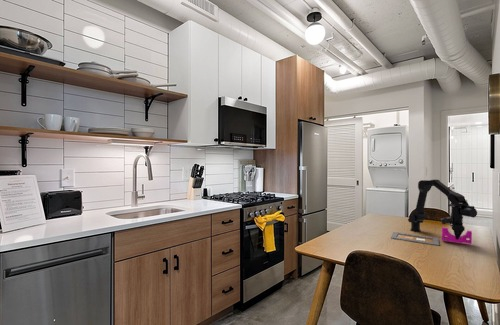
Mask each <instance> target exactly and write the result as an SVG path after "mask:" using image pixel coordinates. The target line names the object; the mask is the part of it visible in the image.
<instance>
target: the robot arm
mask: <svg viewBox="0 0 500 325" xmlns="http://www.w3.org/2000/svg"><path fill="white" fill-rule="evenodd" d="M432 187H434V188H436V189H437V190H438V191H440V192H442V194H444V196H446V197H447V200H448V201H449V202H450V204H448V205H447V206H448V207H451V213H450V216H447V217H443V218H440V221H441V224H442V225H447V224H449V225H450V227H451V230H452V231H453V233H454V234H453V235H454V236H455V237H456V239H457V240H458V239H459V237H460V236H462V235H463V232H464V231H465V229H466V228H465V226H464V225H463V224H464V221H463V219H464V217H468V218H469V217H470V218H476V217H477V215H478V210H477V209H476V207H475V206H474V205H469V203H468V201H467V200H466V198H465V196H464V195H462V194H461V193H459V192H456V191H453V190H452V189H451V188H449V187H448V186H447V185H445V184H444V183H442V181H441V180H440V179H430V180H428V179H426V180H425V179H423V180H421V179H420V180H419V181H418V183H417V188H418V197H417V202H416V207H415V209H414V210H413V211H412V212H411V216H410V217H409V218H408V220H407V221H408V223H410V231H412V232H421V231H422V230H421V224H423V223H424V221H425V219H426V216H427V213H425V211H424V209H425V205H426V201H427V196H428V193H429V192H430V191H431V189H432Z"/></svg>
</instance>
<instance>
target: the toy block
mask: <svg viewBox="0 0 500 325" xmlns="http://www.w3.org/2000/svg"><path fill="white" fill-rule="evenodd" d="M472 236H473V232H472V230H467V231H466V232H465V233H464V234H462V235H461V236H460V237H459V239H458V240H457V239H456V237H455V235H454V234H452V233H451V232H450V231H449V229H448V227H444V226H442V228H441V241H446V242H452V243H458V244H470V245H472V241H473V240H472V238H473V237H472Z"/></svg>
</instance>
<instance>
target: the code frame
mask: <svg viewBox="0 0 500 325" xmlns="http://www.w3.org/2000/svg"><path fill="white" fill-rule="evenodd" d="M398 235H401V236H402V235H403V236H404V237H398ZM414 237H415V239H414ZM390 239H391V240H397V241H398V240H399V241H404V242H405V241H406V242H412V243H417V244H418V243H419V244H424V245H430V246H438V247H440V241H439V240H440V239H439V238H438V237H431V236H426V235H419V234H412V233H404V232H397V231H392V234H391V236H390ZM426 239H428V240H432V242H430V241H426Z"/></svg>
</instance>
